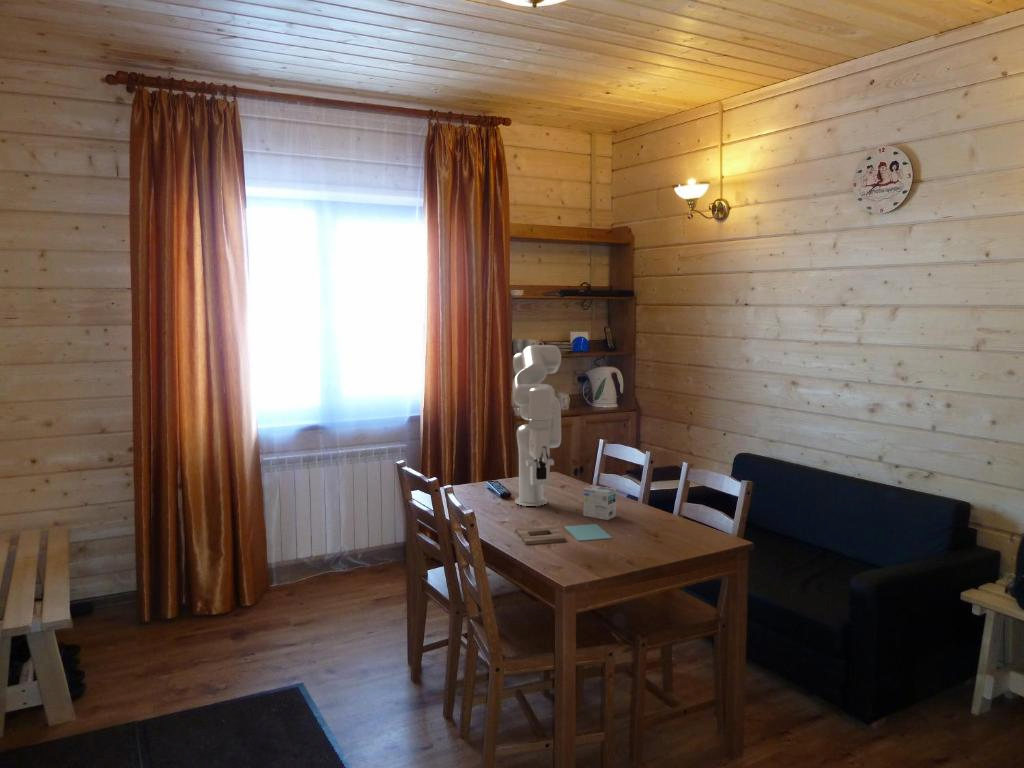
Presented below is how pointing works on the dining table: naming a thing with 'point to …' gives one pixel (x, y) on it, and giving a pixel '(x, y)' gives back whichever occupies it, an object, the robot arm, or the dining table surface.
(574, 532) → the teal mat
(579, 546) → the dining table surface
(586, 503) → the light bulb box
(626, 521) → the dining table surface
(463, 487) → the dining table surface
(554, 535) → the walnut slot plate
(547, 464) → the metal T-key
